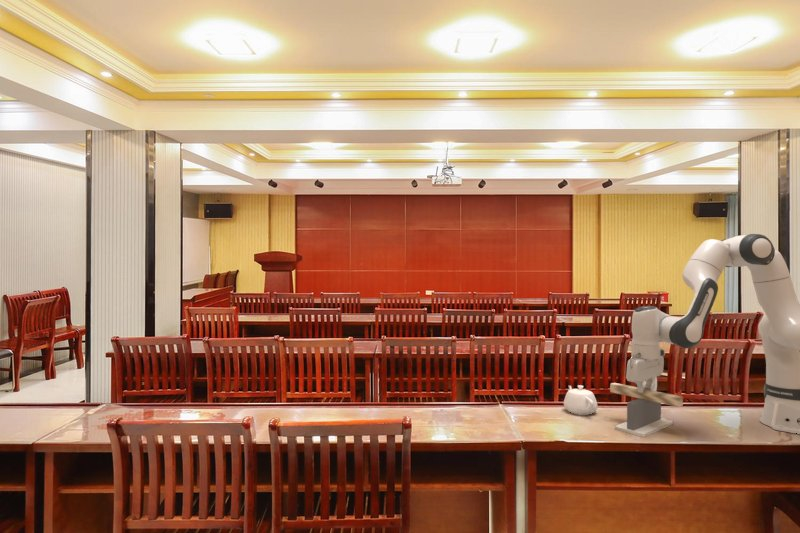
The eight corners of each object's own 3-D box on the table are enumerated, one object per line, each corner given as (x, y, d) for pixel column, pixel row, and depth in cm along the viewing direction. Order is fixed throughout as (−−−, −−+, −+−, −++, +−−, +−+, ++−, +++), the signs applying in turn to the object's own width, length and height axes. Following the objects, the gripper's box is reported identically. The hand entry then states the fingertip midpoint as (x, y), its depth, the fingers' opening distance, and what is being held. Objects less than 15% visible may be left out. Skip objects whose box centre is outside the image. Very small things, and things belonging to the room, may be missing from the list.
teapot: (554, 404, 201) (554, 379, 201) (583, 403, 202) (583, 379, 202) (576, 420, 181) (576, 392, 181) (608, 419, 182) (608, 391, 182)
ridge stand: (673, 424, 177) (673, 396, 177) (643, 437, 163) (643, 407, 163) (644, 417, 185) (645, 390, 185) (614, 429, 171) (615, 400, 171)
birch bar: (682, 405, 165) (682, 396, 165) (678, 407, 164) (679, 398, 164) (614, 390, 184) (614, 382, 184) (610, 391, 182) (610, 383, 182)
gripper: (639, 356, 165) (639, 398, 165) (667, 350, 178) (666, 388, 178) (621, 354, 170) (621, 394, 170) (649, 347, 182) (649, 385, 183)
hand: (644, 391), depth 174 cm, fingers open, 4 cm apart
